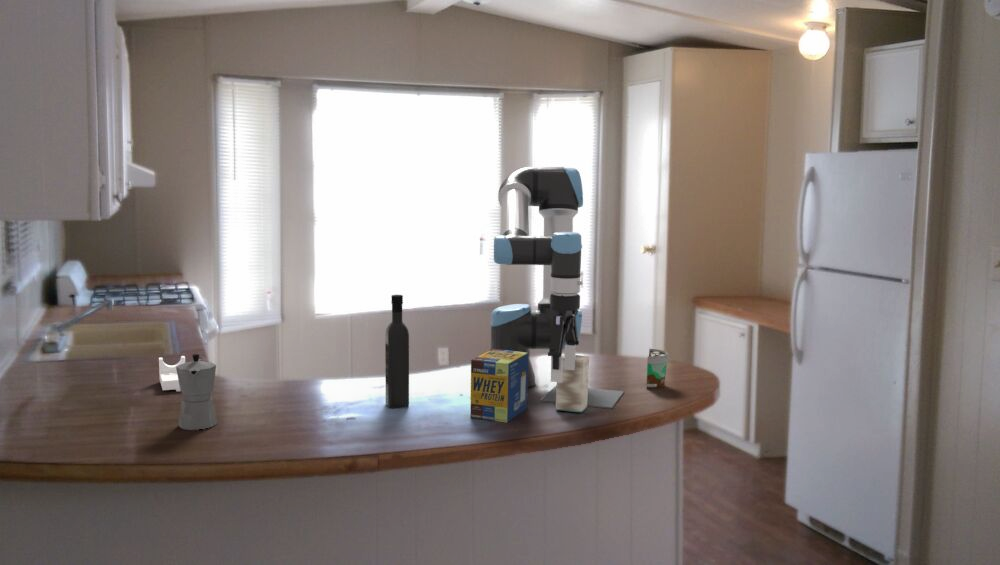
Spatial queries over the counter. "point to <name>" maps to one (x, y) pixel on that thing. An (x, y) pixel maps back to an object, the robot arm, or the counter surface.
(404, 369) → the wine bottle
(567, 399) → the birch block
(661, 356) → the food container
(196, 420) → the coffeepot
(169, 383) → the bracket
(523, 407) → the protein box
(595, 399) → the mat
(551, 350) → the robot arm
